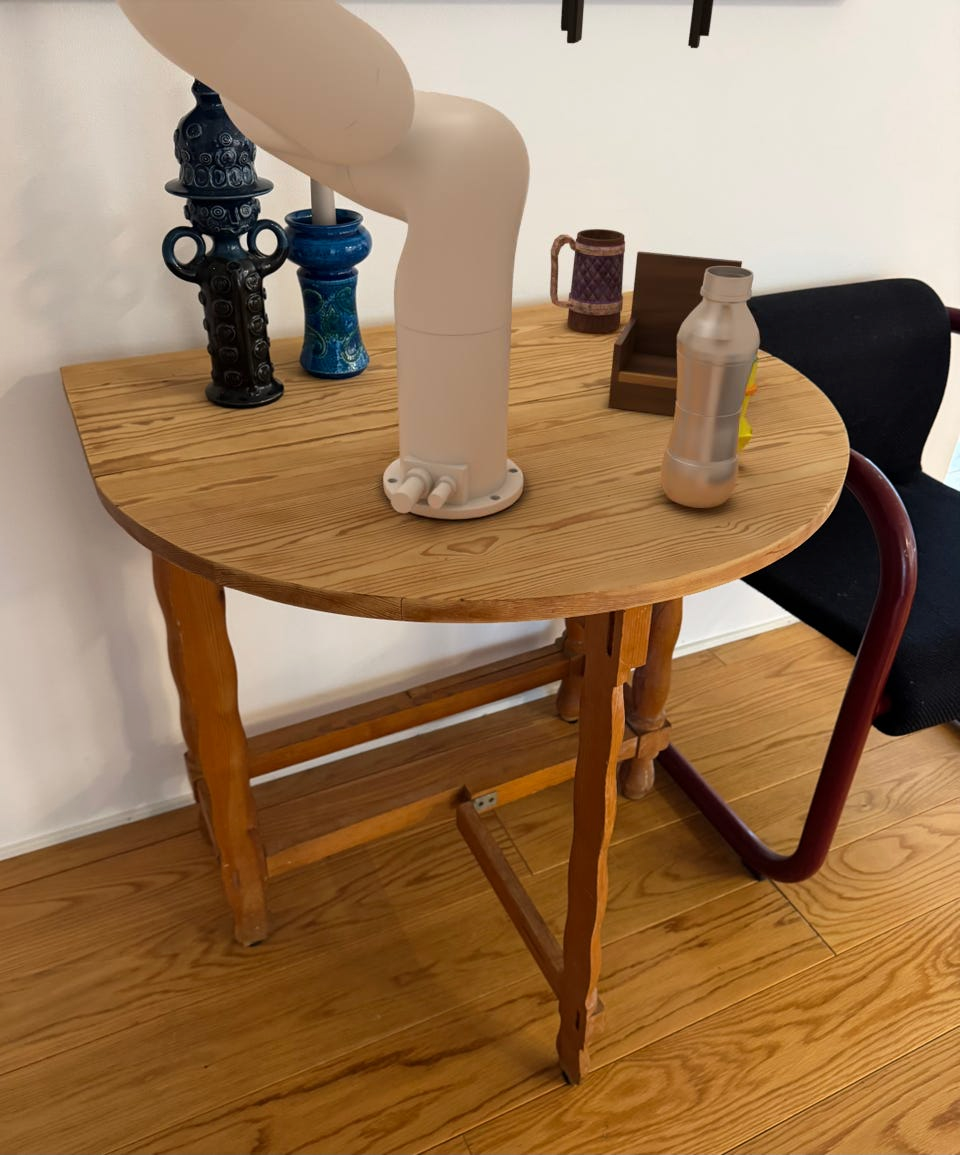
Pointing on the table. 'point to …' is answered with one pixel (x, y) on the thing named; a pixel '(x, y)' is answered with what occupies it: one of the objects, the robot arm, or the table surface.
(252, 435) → the table surface
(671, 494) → the silver water bottle
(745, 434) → the toy figure
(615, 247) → the mug
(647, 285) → the wooden chair
